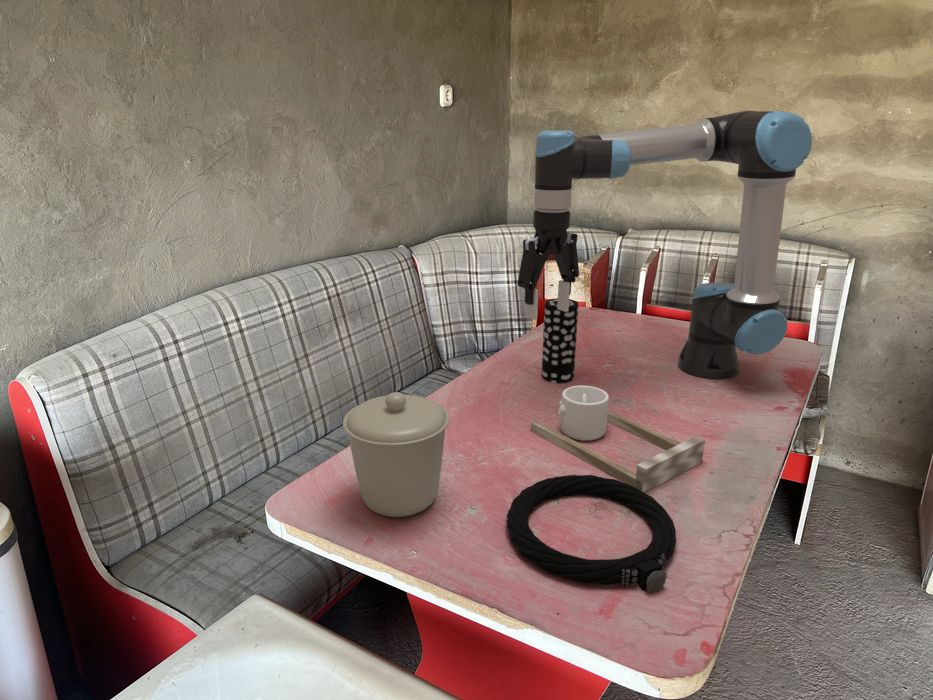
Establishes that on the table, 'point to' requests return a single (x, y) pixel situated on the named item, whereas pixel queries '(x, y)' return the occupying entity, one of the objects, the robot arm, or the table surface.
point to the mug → (583, 412)
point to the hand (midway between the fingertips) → (547, 314)
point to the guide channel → (648, 471)
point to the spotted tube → (559, 342)
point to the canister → (397, 451)
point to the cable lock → (626, 570)
